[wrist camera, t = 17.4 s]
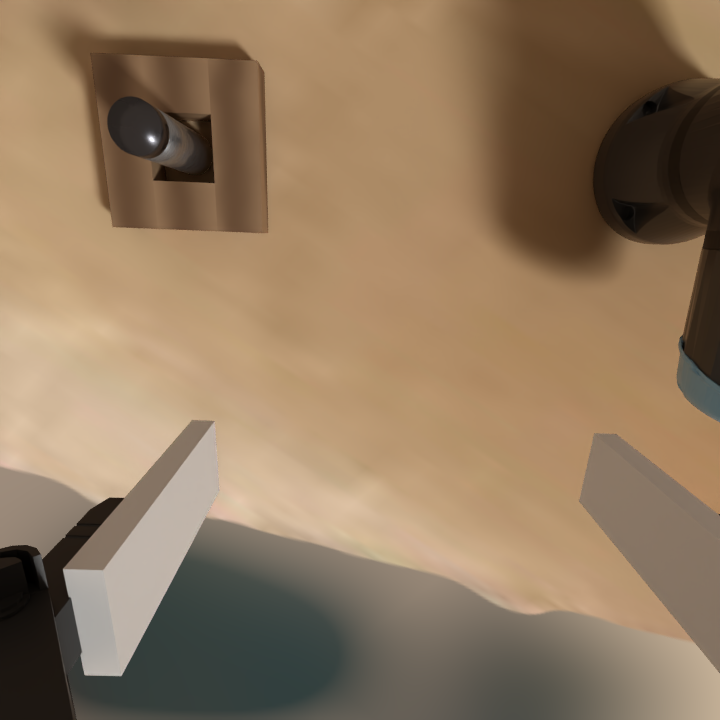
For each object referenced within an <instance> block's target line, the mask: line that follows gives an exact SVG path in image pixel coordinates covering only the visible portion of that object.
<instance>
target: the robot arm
mask: <svg viewBox="0 0 720 720" xmlns="http://www.w3.org/2000/svg"><path fill="white" fill-rule="evenodd" d="M594 193H595V198H596V202H597V205H598V208H599V210H600V212H601V214H602V216H603V218H604V219H605V221H606V222H607V223H608V225H609V226H610V227H611V228H612V229H613V230H614V231H616V232H617V233H618V234H620V235H621V236H623V237H625V238H627V239H629V240H632V241H635V242H639V243H644V244H675V243H681V242H685V241H689V240H692V239H694V238H697V237H700V236H702V235H704V234H705V239H704V244H703V247H702V251H701V255H700V260H699V264H698V269H697V273H696V278H695V282H694V287H693V292H692V296H691V301H690V305H689V310H688V314H687V319H686V323H685V328H684V332H683V335H682V336H681V337H680V340H679V351H680V357H679V364H678V370H677V384H678V387H679V388H680V390H681V391H682V392H683V394H684V396H685V398H686V399H687V400H688V401H689V402H690V403H691V404H692V405H693V406H695V407H696V408H697V409H699V410H700V411H701V412H703V413H704V414H706V415H708V416H709V417H711V418H713V419H715V420H717V421H718V422H720V79H713V78H694V79H687V80H682V81H678V82H675V83H672V84H669V85H666V86H664V87H662V88H660V89H658V90H655V91H653V92H651V93H649V94H647V95H645V96H644V97H642V98H640V99H639V100H637V101H636V102H635V103H633V104H632V105H631V106H630V107H628V108H627V109H626V110H625V111H624V112H623V113H622V114H621V115H620V116H619V117H618V119H617V120H616V121H615V122H614V124H613V125H612V126H611V128H610V129H609V131H608V133H607V134H606V136H605V138H604V140H603V142H602V144H601V147H600V149H599V152H598V155H597V159H596V163H595V169H594ZM218 493H219V476H218V461H217V447H216V432H215V421H200V420H192V421H191V422H190V423H189V425H188V426H187V427H186V428H185V429H184V430H183V431H182V433H181V434H180V435H179V436H178V437H177V438H176V440H175V441H174V442H173V443H172V444H171V445H170V446H169V448H168V449H167V450H166V451H165V452H164V453H163V454H162V456H161V457H160V458H159V459H158V460H157V461H156V463H155V464H154V465H153V466H152V467H151V468H150V469H149V471H148V472H147V473H146V474H145V475H144V476H143V478H142V479H141V480H140V481H139V482H138V483H137V484H136V486H135V487H134V488H133V489H132V490H131V491H130V492H129V494H128V495H127V496H126V497H125V498H108V499H106V500H105V501H103V502H102V503H100V504H98V505H97V506H95V507H93V508H92V509H90V510H89V511H88V512H87V513H86V515H85V516H84V517H83V518H82V519H81V520H80V521H79V522H78V523H77V526H74V527H73V528H72V529H71V530H70V531H69V532H68V533H67V535H66V537H65V538H63V539H62V540H61V541H60V542H59V543H58V544H57V545H56V546H55V547H54V548H53V549H52V550H51V551H50V552H49V553H48V554H47V555H46V556H45V557H44V558H43V559H42V558H41V554H40V553H39V551H38V550H37V548H34V547H31V546H28V545H18V546H10V547H5V548H2V549H0V720H77V719H76V714H75V708H74V703H73V698H72V693H71V688H70V683H69V679H68V673H69V672H70V670H71V669H72V667H73V665H74V664H75V662H76V661H77V659H78V658H79V656H80V655H81V659H82V664H83V669H84V674H85V675H101V676H102V675H103V676H122V674H123V672H124V670H125V668H126V666H127V664H128V663H129V660H130V659H131V657H132V655H133V653H134V651H135V649H136V647H137V646H138V644H139V642H140V639H141V638H142V636H143V634H144V632H145V630H146V628H147V627H148V625H149V623H150V621H151V619H152V617H153V615H154V613H155V611H156V610H157V608H158V606H159V604H160V602H161V600H162V598H163V596H164V595H165V593H166V591H167V589H168V587H169V585H170V583H171V581H172V579H173V577H174V575H175V574H176V572H177V570H178V568H179V566H180V564H181V562H182V561H183V559H184V557H185V555H186V553H187V551H188V549H189V547H190V545H191V543H192V542H193V540H194V538H195V536H196V534H197V532H198V530H199V528H200V526H201V525H202V523H203V521H204V519H205V517H206V515H207V513H208V511H209V510H210V508H211V506H212V504H213V502H214V500H215V498H216V496H217V494H218ZM579 502H580V503H581V504H582V505H583V507H584V508H585V509H586V510H587V512H588V513H589V514H590V515H591V516H592V518H593V519H594V520H595V521H596V523H597V524H598V525H599V526H600V527H601V529H602V530H603V531H604V532H605V534H606V535H607V536H608V537H609V538H610V540H611V541H612V542H613V543H614V545H615V546H616V547H617V548H618V549H619V551H620V552H621V553H622V554H623V556H624V557H625V558H626V559H627V560H628V562H629V563H630V564H631V565H632V567H633V568H634V569H635V570H636V571H637V573H638V574H639V575H640V576H641V578H642V579H643V580H644V581H645V582H646V584H647V585H648V586H649V587H650V589H651V590H652V591H653V592H654V593H655V595H656V596H657V597H658V598H659V600H660V601H661V602H662V603H663V604H664V606H665V607H666V608H667V609H668V610H669V612H670V613H671V614H672V615H673V617H674V618H675V619H676V620H677V621H678V623H679V624H680V625H681V626H682V628H683V629H684V630H685V631H686V632H687V634H688V635H689V636H690V637H691V639H692V640H693V641H694V642H695V643H696V645H697V646H698V647H699V648H700V650H701V651H702V652H703V653H704V654H705V656H706V657H707V658H708V659H709V660H710V662H711V663H712V664H713V665H714V667H715V668H716V669H717V670H718V672H719V673H720V514H717V513H716V512H714V511H713V510H712V509H711V508H709V507H708V506H707V505H706V504H704V503H703V502H702V501H700V500H699V499H698V498H697V497H695V496H694V495H693V494H692V493H690V492H689V491H688V490H686V489H685V488H684V487H683V486H681V485H680V484H679V483H678V482H676V481H675V480H674V479H673V478H671V477H670V476H669V475H667V474H666V473H665V472H664V471H662V470H661V469H660V468H659V467H657V466H656V465H655V464H653V463H652V462H651V461H650V460H648V459H647V458H646V457H645V456H643V455H642V454H641V453H639V452H638V451H637V450H636V449H634V448H633V447H632V446H631V445H629V444H628V443H627V442H626V441H624V440H623V439H622V438H620V437H619V436H618V435H617V434H598V433H594V437H593V442H592V446H591V451H590V455H589V460H588V464H587V469H586V473H585V478H584V482H583V487H582V491H581V495H580V500H579Z"/></svg>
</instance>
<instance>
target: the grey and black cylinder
mask: <svg viewBox="0 0 720 720" xmlns="http://www.w3.org/2000/svg"><path fill="white" fill-rule="evenodd" d="M107 126H108V130H109V133H110V136H111V138H112V140H113V141H114V143H115V144H116V145H117V146H118V147H119V148H120V149H121V150H123V151H124V152H126V153H128V154H131V155H134V156H137V157H140V158H143V159H146V160H149V161H152V162H155V163H158V164H161V165H164V166H167V167H170V168H173V169H176V170H179V171H182V172H185V173H188V174H191V175H200V174H203V173H205V172H206V171H207V170H208V169H209V168H210V166H211V164H212V160H213V152H212V148H211V146H210V144H209V142H208V141H207V140H206V139H205V138H204V137H203V136H202V135H200V134H198V133H197V132H195V131H193V130H192V129H190V128H189V127H187V126H185V125H184V124H182V123H180V122H179V121H177V120H175V119H174V118H172V117H170V116H169V115H167V114H166V113H164V112H162V111H161V110H159V109H157V108H156V107H154V106H152V105H151V104H149V103H147V102H146V101H144V100H142V99H140V98H138V97H133V96H127V97H123V98H120V99H118V100H117V101H116V102H115V103H114V104H113V105H112V106H111V108H110V110H109V113H108V117H107Z"/></svg>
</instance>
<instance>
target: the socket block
mask: <svg viewBox="0 0 720 720" xmlns="http://www.w3.org/2000/svg"><path fill="white" fill-rule="evenodd" d="M91 60H92V68H93V76H94V84H95V92H96V100H97V108H98V116H99V124H100V131H101V139H102V147H103V155H104V163H105V171H106V179H107V187H108V194H109V202H110V210H111V218H112V226H113V227H127V228H151V229H176V230H201V231H226V232H251V233H268V207H267V166H266V124H265V82H264V71H263V69H262V68H261V66H260V64H259V63H258V61H253V60H232V59H211V58H190V57H169V56H148V55H127V54H106V53H91ZM127 96H133V97H138V98H140V99H142V100H144V101H146V102H147V103H149V104H151V105H152V106H154V107H156V108H157V109H159V110H161V111H162V112H164V113H166V114H167V115H169V116H170V117H172V118H174V119H175V120H186V121H208V122H211V128H212V145H213V162H214V180H215V183H199V182H175V181H166V175H165V166H164V165H161V164H158V163H155V162H152V161H149V160H146V159H143V158H140V157H137V156H134V155H131V154H128V153H126V152H124V151H123V150H121V149H120V148H119V147H118V146H117V145H116V144H115V143H114V141H113V140H112V138H111V136H110V133H109V130H108V126H107V117H108V113H109V110H110V108H111V106H112V105H113V104H114V103H115V102H116V101H117V100H118V99H120V98H123V97H127Z"/></svg>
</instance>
